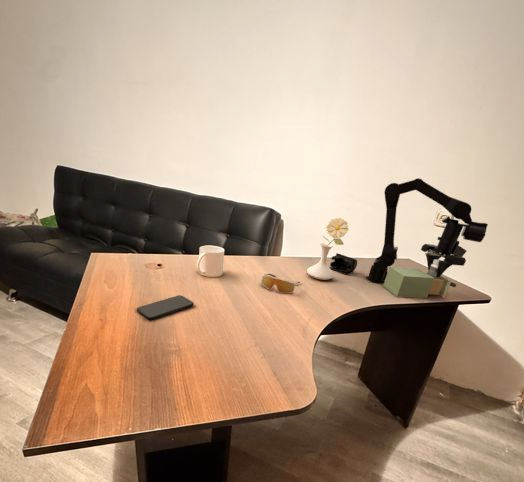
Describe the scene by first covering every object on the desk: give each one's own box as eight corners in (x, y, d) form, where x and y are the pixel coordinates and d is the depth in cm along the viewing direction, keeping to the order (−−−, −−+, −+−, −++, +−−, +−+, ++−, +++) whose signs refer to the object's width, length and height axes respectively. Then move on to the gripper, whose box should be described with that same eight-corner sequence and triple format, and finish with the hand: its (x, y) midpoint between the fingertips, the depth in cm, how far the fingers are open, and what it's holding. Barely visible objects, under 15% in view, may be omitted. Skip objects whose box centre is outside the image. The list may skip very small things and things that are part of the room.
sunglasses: (255, 286, 109) (257, 273, 107) (269, 280, 123) (271, 268, 121) (292, 297, 105) (295, 283, 104) (302, 289, 119) (305, 276, 117)
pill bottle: (432, 282, 122) (441, 263, 118) (422, 278, 125) (430, 259, 121) (440, 282, 124) (448, 262, 120) (429, 277, 128) (438, 258, 124)
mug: (212, 267, 122) (214, 244, 117) (227, 274, 117) (229, 251, 112) (187, 272, 114) (187, 247, 109) (202, 280, 109) (202, 255, 104)
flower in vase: (300, 275, 127) (313, 213, 115) (315, 270, 135) (327, 212, 123) (327, 285, 120) (343, 221, 108) (341, 280, 128) (357, 219, 116)
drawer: (439, 287, 133) (446, 273, 130) (454, 296, 125) (462, 281, 122) (404, 285, 129) (410, 270, 126) (418, 295, 121) (424, 279, 118)
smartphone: (134, 307, 83) (180, 294, 94) (135, 310, 84) (180, 297, 94) (149, 318, 79) (195, 303, 90) (149, 321, 80) (195, 305, 90)
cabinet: (411, 287, 131) (418, 268, 127) (426, 298, 122) (435, 278, 118) (383, 285, 128) (389, 266, 124) (396, 296, 119) (404, 276, 115)
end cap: (354, 272, 139) (358, 258, 136) (347, 275, 134) (351, 260, 131) (336, 266, 145) (339, 252, 142) (328, 268, 140) (331, 254, 137)
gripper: (486, 245, 110) (467, 284, 117) (450, 232, 126) (435, 268, 133) (460, 242, 107) (442, 283, 115) (427, 229, 123) (413, 266, 131)
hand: (433, 274), depth 123 cm, fingers closed on pill bottle, 5 cm apart
